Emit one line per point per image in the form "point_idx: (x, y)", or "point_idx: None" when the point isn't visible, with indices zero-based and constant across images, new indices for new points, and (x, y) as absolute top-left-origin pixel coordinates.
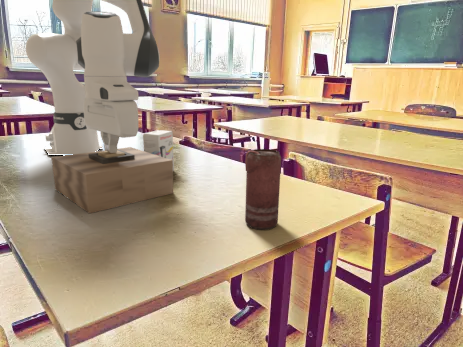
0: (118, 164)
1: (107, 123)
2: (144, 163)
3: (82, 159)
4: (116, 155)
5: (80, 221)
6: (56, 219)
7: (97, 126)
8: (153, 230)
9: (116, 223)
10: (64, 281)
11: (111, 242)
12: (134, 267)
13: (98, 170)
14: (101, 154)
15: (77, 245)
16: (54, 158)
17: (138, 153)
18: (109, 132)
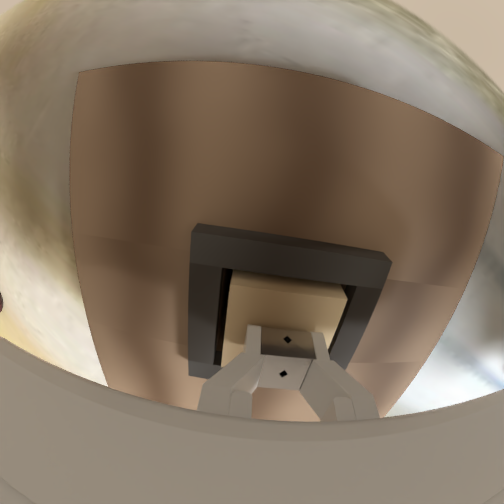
0: (141, 268)
1: (136, 482)
2: (106, 335)
3: (384, 211)
4: (225, 329)
5: (121, 59)
6: (178, 19)
7: (393, 444)
8: (12, 166)
9: (61, 122)
10: (7, 23)
11: (20, 88)
12: None
13: (98, 140)
14: (300, 291)
15: (46, 38)
16: (484, 145)
17: (274, 411)
18: (134, 404)
